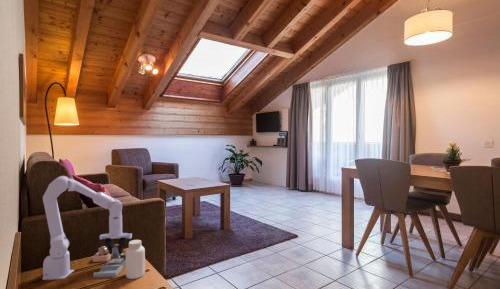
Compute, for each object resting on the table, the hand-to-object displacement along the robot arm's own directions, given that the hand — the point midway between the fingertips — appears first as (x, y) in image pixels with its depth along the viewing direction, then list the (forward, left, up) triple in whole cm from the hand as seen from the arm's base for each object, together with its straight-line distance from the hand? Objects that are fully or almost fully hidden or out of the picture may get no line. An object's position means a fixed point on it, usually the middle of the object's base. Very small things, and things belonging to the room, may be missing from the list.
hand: (116, 253), depth 137 cm
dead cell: (-9, +7, -5) cm, 13 cm away
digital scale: (0, +1, -6) cm, 6 cm away
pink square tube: (-9, +7, -6) cm, 13 cm away
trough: (0, -9, -6) cm, 10 cm away
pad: (0, 0, -4) cm, 4 cm away
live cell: (0, 0, -2) cm, 2 cm away
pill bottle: (+13, -12, -6) cm, 18 cm away
